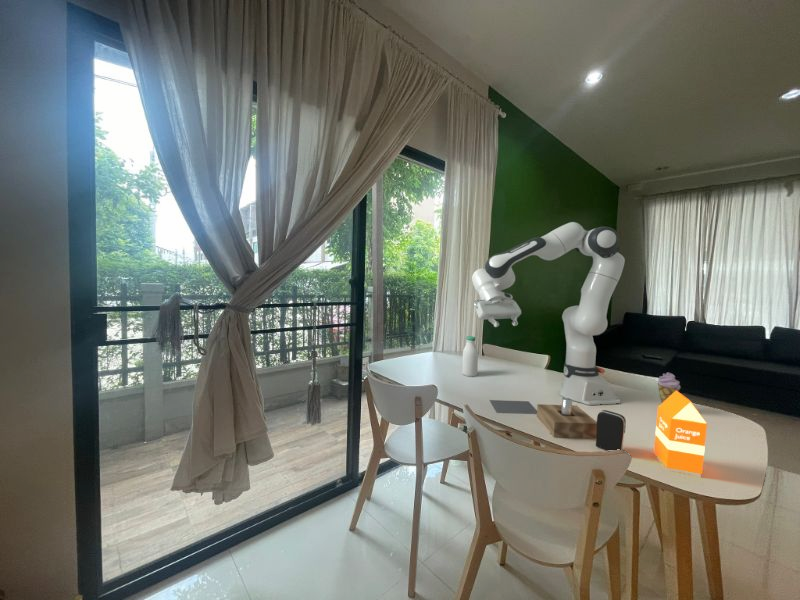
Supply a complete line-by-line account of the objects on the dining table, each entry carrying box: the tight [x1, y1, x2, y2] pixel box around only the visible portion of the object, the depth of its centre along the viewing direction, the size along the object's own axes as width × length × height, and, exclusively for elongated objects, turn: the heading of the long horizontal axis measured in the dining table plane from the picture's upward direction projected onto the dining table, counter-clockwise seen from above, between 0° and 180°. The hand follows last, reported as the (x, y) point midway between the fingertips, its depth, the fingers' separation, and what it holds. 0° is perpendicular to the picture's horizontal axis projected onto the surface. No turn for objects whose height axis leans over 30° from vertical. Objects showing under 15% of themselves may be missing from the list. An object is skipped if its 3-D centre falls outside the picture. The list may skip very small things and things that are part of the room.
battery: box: [595, 409, 627, 451], centre depth 95 cm, size 7×4×11 cm, turn 42°
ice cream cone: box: [657, 372, 681, 404], centre depth 123 cm, size 7×6×15 cm
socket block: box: [536, 403, 597, 439], centre depth 109 cm, size 14×14×5 cm
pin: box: [561, 397, 573, 416], centre depth 108 cm, size 3×3×10 cm
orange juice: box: [653, 390, 708, 475], centre depth 87 cm, size 8×9×20 cm
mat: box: [489, 399, 537, 415], centre depth 124 cm, size 16×12×1 cm
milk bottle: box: [461, 335, 479, 378], centre depth 164 cm, size 8×8×20 cm
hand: (506, 325), depth 129 cm, fingers open, 8 cm apart
